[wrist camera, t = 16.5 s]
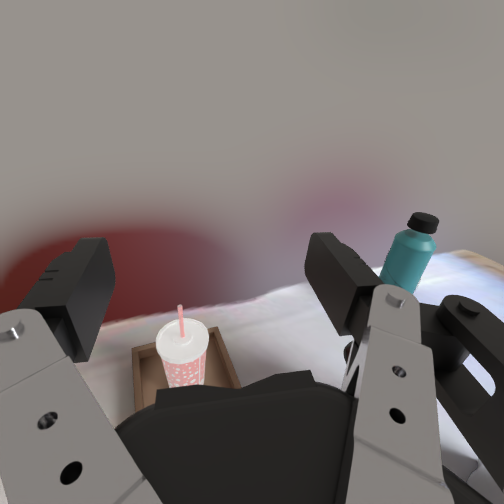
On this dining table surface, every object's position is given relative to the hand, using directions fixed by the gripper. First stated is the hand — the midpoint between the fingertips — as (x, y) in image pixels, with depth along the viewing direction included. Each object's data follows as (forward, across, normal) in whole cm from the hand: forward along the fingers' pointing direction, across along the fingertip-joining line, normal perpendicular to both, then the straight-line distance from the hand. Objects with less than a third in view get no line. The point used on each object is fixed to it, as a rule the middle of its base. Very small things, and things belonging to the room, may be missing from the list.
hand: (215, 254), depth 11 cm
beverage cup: (+13, +3, +29) cm, 32 cm away
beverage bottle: (+24, -35, +30) cm, 52 cm away
